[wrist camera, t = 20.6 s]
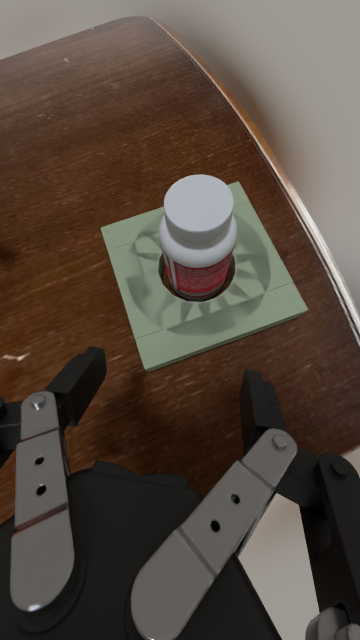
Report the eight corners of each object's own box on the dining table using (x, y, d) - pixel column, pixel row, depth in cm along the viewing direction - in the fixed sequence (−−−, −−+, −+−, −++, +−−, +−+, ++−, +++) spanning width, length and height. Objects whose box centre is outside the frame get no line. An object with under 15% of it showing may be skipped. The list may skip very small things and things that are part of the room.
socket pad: (297, 317, 25) (308, 309, 22) (149, 372, 24) (144, 370, 22) (235, 198, 29) (238, 181, 27) (108, 241, 29) (100, 227, 26)
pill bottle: (236, 277, 26) (265, 201, 16) (195, 314, 26) (197, 259, 15) (197, 241, 28) (199, 150, 17) (157, 275, 27) (133, 201, 16)
